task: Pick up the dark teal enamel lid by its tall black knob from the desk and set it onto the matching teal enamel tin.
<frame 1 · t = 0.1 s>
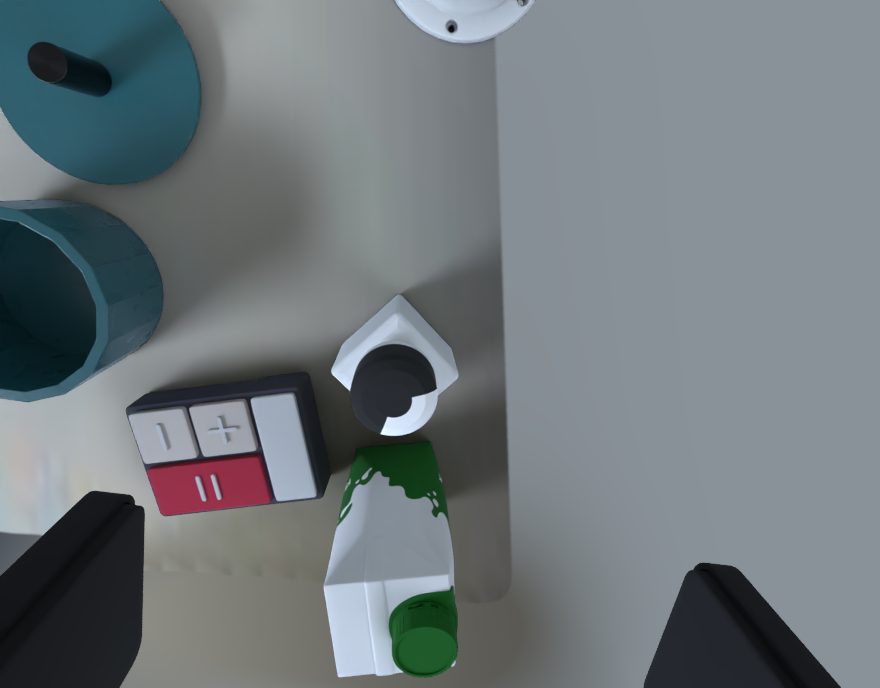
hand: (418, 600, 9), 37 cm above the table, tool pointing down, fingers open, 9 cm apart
lid: (98, 80, 38), point 1 cm above the table
tin: (78, 285, 42), on the table
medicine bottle: (397, 346, 46), on the table
milk carton: (396, 474, 50), on the table
calculator: (240, 435, 48), on the table
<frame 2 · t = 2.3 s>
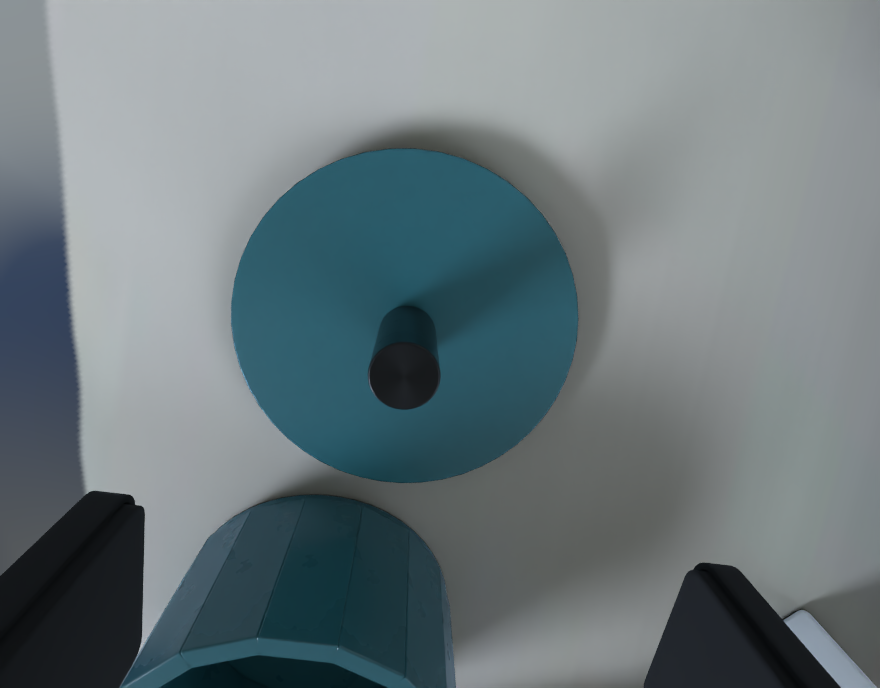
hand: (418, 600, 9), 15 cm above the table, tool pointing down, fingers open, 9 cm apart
lid: (407, 329, 22), point 1 cm above the table
tin: (319, 604, 27), on the table
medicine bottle: (775, 669, 30), on the table
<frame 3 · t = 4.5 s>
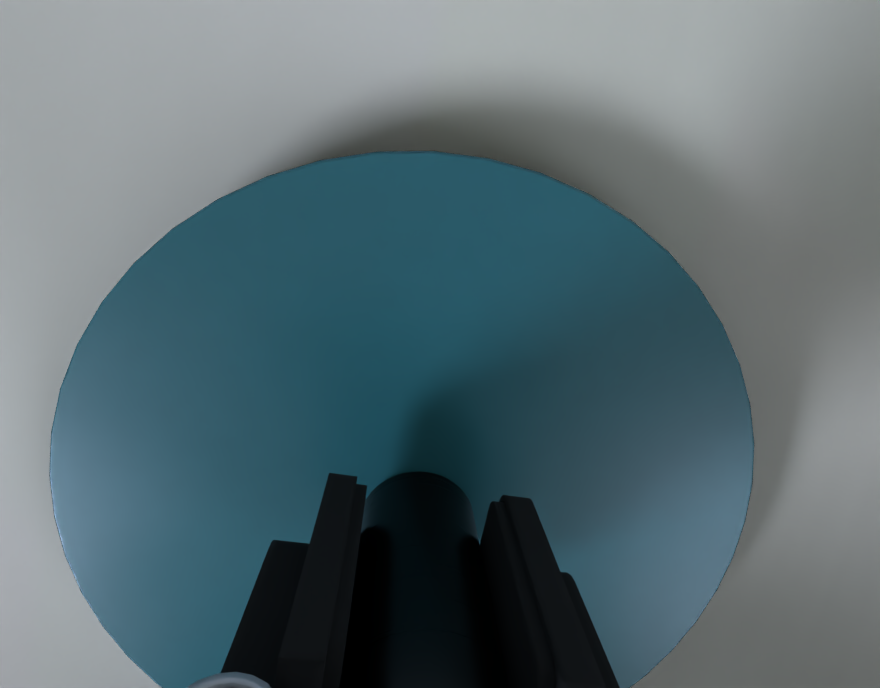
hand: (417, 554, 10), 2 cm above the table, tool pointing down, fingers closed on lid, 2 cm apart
lid: (416, 505, 11), point 1 cm above the table, touching gripper
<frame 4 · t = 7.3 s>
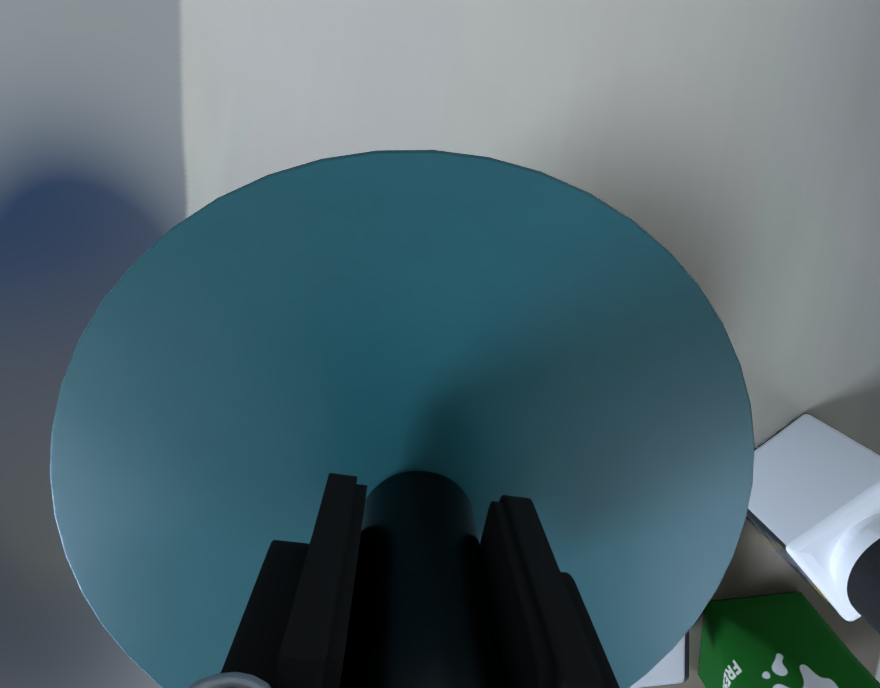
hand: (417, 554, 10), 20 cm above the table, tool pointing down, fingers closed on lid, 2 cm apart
lid: (416, 504, 11), point 19 cm above the table, touching gripper
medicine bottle: (782, 477, 34), on the table
milk carton: (744, 630, 38), on the table
calculator: (558, 589, 36), on the table
when the fingers open (10 cm above the table, at t = 10.4 s): lid stays where it is, resting on tin.
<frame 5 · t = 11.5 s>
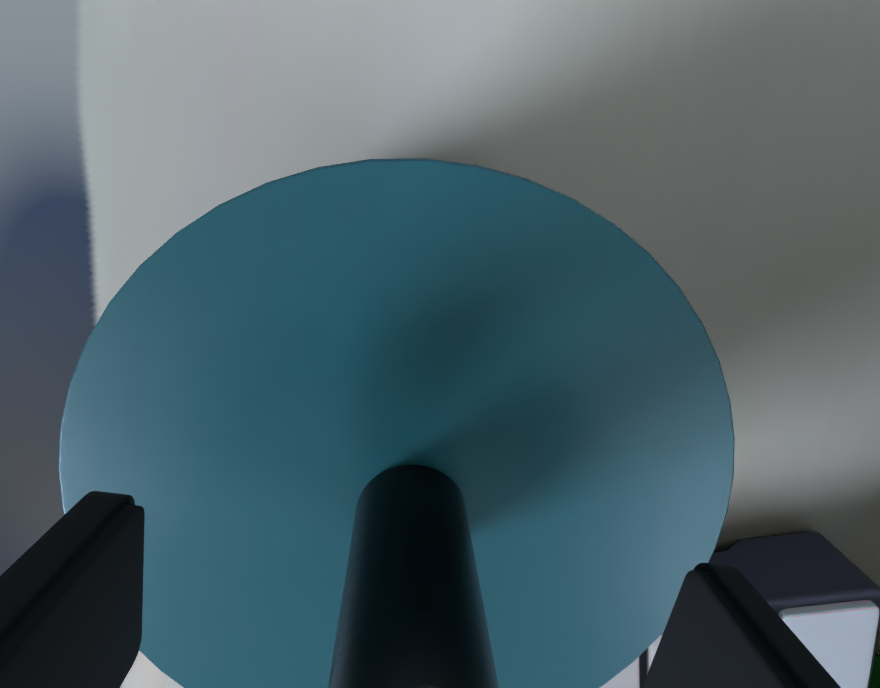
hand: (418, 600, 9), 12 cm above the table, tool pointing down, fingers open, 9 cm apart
lid: (410, 497, 12), point 8 cm above the table, touching tin
calculator: (653, 641, 25), on the table
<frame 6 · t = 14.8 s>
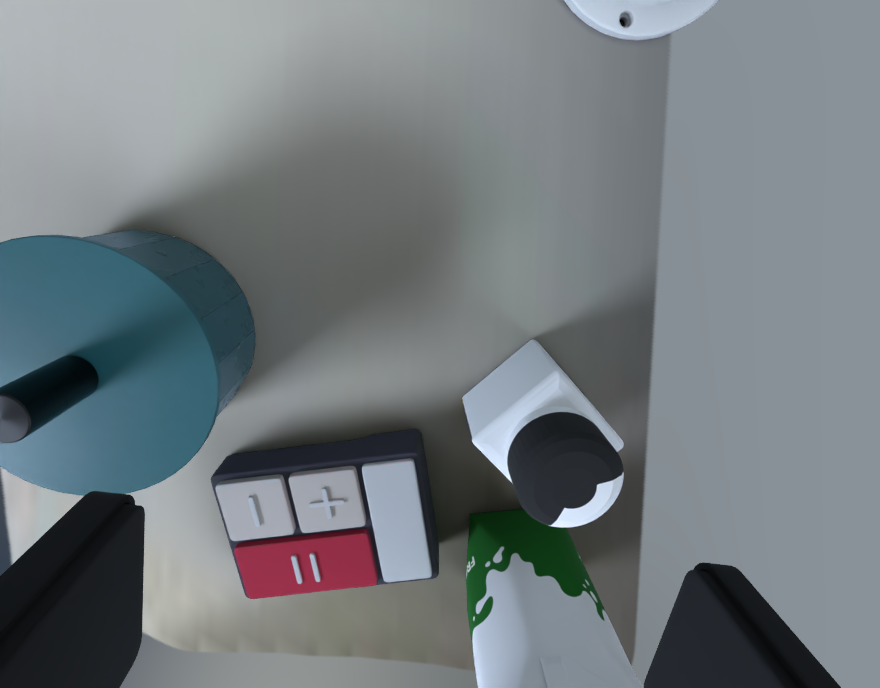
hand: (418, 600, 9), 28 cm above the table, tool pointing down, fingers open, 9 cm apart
lid: (81, 373, 27), point 8 cm above the table, touching tin
tin: (155, 330, 35), on the table
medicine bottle: (524, 398, 39), on the table
milk carton: (512, 543, 43), on the table
calculator: (336, 500, 41), on the table
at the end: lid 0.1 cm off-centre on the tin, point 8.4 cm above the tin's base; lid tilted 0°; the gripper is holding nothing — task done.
